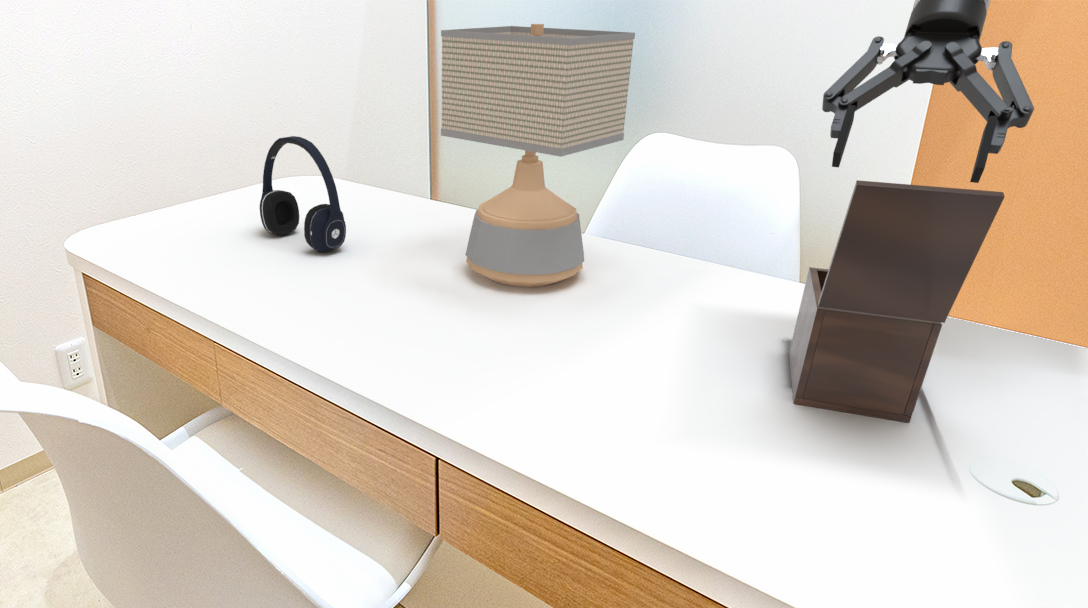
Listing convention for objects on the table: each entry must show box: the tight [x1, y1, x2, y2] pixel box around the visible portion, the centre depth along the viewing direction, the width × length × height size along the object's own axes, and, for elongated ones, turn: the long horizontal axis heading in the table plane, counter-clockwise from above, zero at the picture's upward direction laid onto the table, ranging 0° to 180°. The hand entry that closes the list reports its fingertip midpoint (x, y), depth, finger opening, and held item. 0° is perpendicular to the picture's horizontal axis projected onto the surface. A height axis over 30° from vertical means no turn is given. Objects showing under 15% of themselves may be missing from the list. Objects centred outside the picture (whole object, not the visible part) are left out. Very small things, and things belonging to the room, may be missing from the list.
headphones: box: [259, 135, 347, 253], centre depth 130 cm, size 20×7×18 cm, turn 46°
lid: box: [818, 180, 1006, 324], centre depth 72 cm, size 15×12×1 cm
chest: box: [788, 266, 943, 424], centre depth 85 cm, size 14×12×12 cm
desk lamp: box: [440, 23, 636, 288], centre depth 113 cm, size 22×19×37 cm
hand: (903, 167), depth 82 cm, fingers open, 13 cm apart
